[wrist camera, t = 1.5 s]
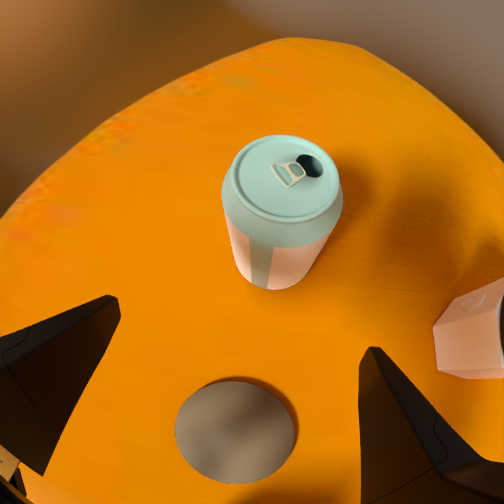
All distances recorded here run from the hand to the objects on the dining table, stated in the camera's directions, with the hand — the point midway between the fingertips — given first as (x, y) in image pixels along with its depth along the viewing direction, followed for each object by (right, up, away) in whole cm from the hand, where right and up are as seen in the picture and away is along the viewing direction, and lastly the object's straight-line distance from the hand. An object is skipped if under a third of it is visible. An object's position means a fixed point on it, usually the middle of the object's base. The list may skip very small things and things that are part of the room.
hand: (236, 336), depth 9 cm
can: (+2, +3, +16) cm, 17 cm away
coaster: (-1, -13, +10) cm, 16 cm away
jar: (+22, -6, +13) cm, 26 cm away
